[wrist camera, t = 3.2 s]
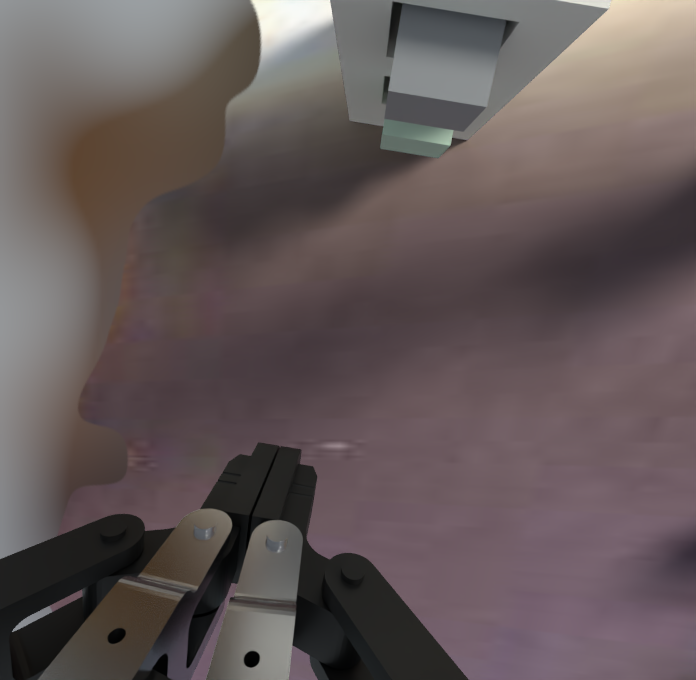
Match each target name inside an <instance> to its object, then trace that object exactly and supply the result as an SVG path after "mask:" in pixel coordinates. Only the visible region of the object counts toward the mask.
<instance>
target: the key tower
mask: <svg viewBox="0 0 696 680" xmlns="http://www.w3.org/2000/svg"><path fill="white" fill-rule="evenodd" d="M330 2H331V8H332V14H333V21H334V27H335V33H336V39H337V45H338V51H339V58H340V64H341V70H342V76H343V82H344V89H345V95H346V101H347V107H348V113H349V120H350V121H354V122H360V123H366V124H372V125H378V126H383V125H384V117H385V110H386V103H387V96H388V89H389V83H390V77H391V71H392V65H393V59H394V53H395V47H396V41H397V35H398V29H399V23H400V17H401V11H402V5H403V3H406V4H412V5H418V6H424V7H430V8H437V9H443V10H449V11H455V12H461V13H467V14H473V15H479V16H486V17H492V18H498V19H504V20H506V24H505V29H504V33H503V38H502V42H501V46H500V51H499V55H498V60H497V64H496V68H495V73H494V77H493V82H492V86H491V90H490V95H489V99H488V104H487V107H486V108H485V109H484V110H483V111H482V113H481V114H480V115H479V116H478V117H477V118H476V119H475V120H474V121H473V122H472V123H471V124H470V125H469V126H468V127H467V128H466V130H465V131H464V132H461V131H455V130H454V131H453V135H452V138H457V139H463V140H468V139H470V138H471V137H472V136H473V135H474V134H475V133H476V132H477V131H478V130H479V129H480V128H481V127H482V126H483V125H485V124H486V123H487V122H488V121H489V120H490V119H491V118H492V117H493V116H494V115H495V114H496V113H497V112H499V111H500V110H501V109H502V108H503V107H504V106H505V105H506V104H507V103H508V102H509V101H510V100H511V99H512V98H514V97H515V96H516V95H517V94H518V93H519V92H520V91H521V90H522V89H523V88H524V87H525V86H526V85H528V84H529V83H530V82H531V81H532V80H533V79H534V78H535V77H536V76H537V75H538V74H539V73H540V72H541V71H543V70H544V69H545V68H546V67H547V66H548V65H549V64H550V63H551V62H552V61H553V60H554V59H555V58H557V57H558V56H559V55H560V54H561V53H562V52H563V51H564V50H565V49H566V48H567V47H568V46H569V45H570V44H572V43H573V42H574V41H575V40H576V39H577V38H578V37H579V36H580V35H581V34H582V33H583V32H584V31H586V30H587V29H588V28H589V27H590V26H591V25H592V24H593V23H594V22H595V21H596V20H597V19H598V18H599V17H601V16H602V15H603V14H604V13H605V12H606V11H607V10H608V9H609V6H610V3H611V0H330Z"/></svg>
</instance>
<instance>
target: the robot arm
mask: <svg viewBox="0 0 696 680" xmlns="http://www.w3.org/2000/svg"><path fill="white" fill-rule="evenodd" d="M300 459H301V449H295V448H289V447H283V446H281V447H279V446H277V445H271V444H265V443H258V444H257V446H256V448H255V450H254V452H253V453H252V455H251V456H247V455H241V454H240V455H238V456H237V457H235V458H234V459H232V460H231V461H229V463H228V464H227V466H226V468H225V469H224V471H223V474H221V476H220V477H219V479H218V482H216V484H215V486H214V487H213V489H212V491H211V492H210V494H209V496H208V497H207V499H206V500H205V502H204V504H203V505H202V507H201V509H200V510H197V511H194V512H192V513H190V514H188V515H186V516H185V517H184V518H183V519H182V520H181V521H180V523H179V524H178V525H177V526H176V527H175V528H171V529H164V530H152V531H145V526H144V523H143V521H142V520H141V519H140V518H138V517H136V516H134V515H130V514H116V515H111V516H108V517H105V518H102V519H99V520H97V521H94V522H92V523H89V524H87V525H84V526H82V527H79V528H77V529H74V530H72V531H69V532H67V533H64V534H62V535H60V536H57V537H55V538H52V539H50V540H47V541H45V542H42V543H40V544H37V545H35V546H32V547H30V548H27V549H25V550H22V551H20V552H17V553H15V554H12V555H10V556H7V557H5V558H2V559H0V680H191V678H192V675H193V673H194V671H195V669H196V667H197V665H198V663H199V661H200V658H201V656H202V654H203V652H204V650H205V648H206V646H207V643H208V641H209V639H210V637H211V635H212V633H213V631H214V629H215V626H216V624H217V622H218V620H219V618H220V616H221V614H222V611H223V609H224V604H225V598H226V596H227V594H228V591H229V588H230V586H231V583H236V584H237V588H236V591H235V595H234V598H233V597H231V598H230V600H229V603H228V606H227V609H226V613H225V616H224V619H223V623H222V626H221V630H220V633H219V636H218V640H217V643H216V647H215V650H214V654H213V657H212V660H211V664H210V667H209V671H208V674H207V677H206V680H289V671H290V662H291V652H292V645H293V646H295V647H297V648H298V649H300V650H302V651H303V652H305V653H307V654H309V655H310V663H311V667H312V669H313V671H314V673H315V675H316V677H317V679H318V680H468V678H467V677H466V676H465V675H464V674H463V672H462V671H461V670H460V669H459V668H458V666H457V665H456V664H455V663H454V662H453V660H452V659H451V658H450V657H449V656H448V654H447V653H446V652H445V651H444V650H443V648H442V647H441V646H440V645H439V643H438V642H437V641H436V640H435V639H434V637H433V636H432V635H431V634H430V633H429V631H428V630H427V629H426V628H425V627H424V625H423V624H422V623H421V622H420V621H419V619H418V618H417V617H416V616H415V615H414V613H413V612H412V611H411V610H410V609H409V607H408V606H407V605H406V604H405V603H404V601H403V600H402V599H401V598H400V596H399V595H398V594H397V593H396V592H395V590H394V589H393V588H392V587H391V586H390V584H389V583H388V582H387V581H386V580H385V578H384V577H383V576H382V575H381V574H380V572H379V571H378V570H377V569H376V568H375V566H374V565H373V564H372V563H371V562H370V561H369V560H367V559H366V558H364V557H362V556H360V555H357V554H353V553H343V554H339V555H336V556H334V557H333V558H331V559H330V560H329V559H327V558H325V557H323V556H321V555H320V554H318V553H317V552H315V551H314V550H313V549H312V548H311V546H310V545H309V543H308V541H307V533H308V528H309V523H310V518H311V513H312V506H313V500H314V494H315V488H316V481H317V475H316V472H315V470H314V467H313V466H307V465H301V464H300ZM81 589H82V594H83V597H81V598H79V599H77V600H75V601H73V602H71V603H69V604H67V605H65V606H63V607H61V608H59V609H58V610H56V611H54V612H52V613H50V614H48V615H46V616H44V617H42V618H40V619H38V620H36V621H34V622H32V623H30V624H29V625H27V626H25V627H23V628H21V629H19V630H17V631H14V632H12V631H13V629H14V628H15V627H16V625H18V624H19V623H20V622H21V621H22V620H23V619H25V618H26V617H28V616H30V615H32V614H34V613H36V612H38V611H40V610H41V609H43V608H46V607H48V606H50V605H52V604H54V603H56V602H58V601H60V600H62V599H64V598H65V597H67V596H69V595H71V594H73V593H75V592H77V591H79V590H81Z"/></svg>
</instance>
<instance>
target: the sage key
mask: <svg viewBox="0 0 696 680" xmlns="http://www.w3.org/2000/svg"><path fill="white" fill-rule="evenodd" d="M453 131H454V130H449V129H443V128H437V127H431V126H425V125H419V124H413V123H407V122H401V121H395V120H389V119H384V125H383V131H382V138H381V145H380V149H385V150H391V151H397V152H403V153H409V154H415V155H421V156H427V157H433V158H439V157H440V156H441V155H442V154H443V153H444V152H445V151H446V150H447V149H448V148H449V147H450V145H451V140H452V135H453Z"/></svg>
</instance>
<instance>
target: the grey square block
mask: <svg viewBox="0 0 696 680" xmlns="http://www.w3.org/2000/svg"><path fill="white" fill-rule="evenodd" d="M505 24H506V20H504V19H498V18H492V17H486V16H479V15H473V14H467V13H461V12H455V11H449V10H443V9H437V8H430V7H424V6H418V5H412V4H406V3H403V5H402V11H401V17H400V23H399V29H398V35H397V41H396V47H395V53H394V59H393V65H392V71H391V77H390V83H389V89H388V96H387V103H386V110H385V117H384V119H389V120H395V121H401V122H407V123H413V124H419V125H425V126H431V127H437V128H443V129H449V130H455V131H461V132H464V131H465V130H466V128H467V127H468V126H469V125H470V124H471V123H472V122H473V121H474V120H475V119H476V118H477V117H478V116H479V115H480V114H481V113H482V111H483V110H484V109H485V108H486V107H487V104H488V99H489V95H490V90H491V86H492V82H493V77H494V73H495V68H496V64H497V60H498V55H499V51H500V46H501V42H502V38H503V33H504V29H505Z"/></svg>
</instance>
